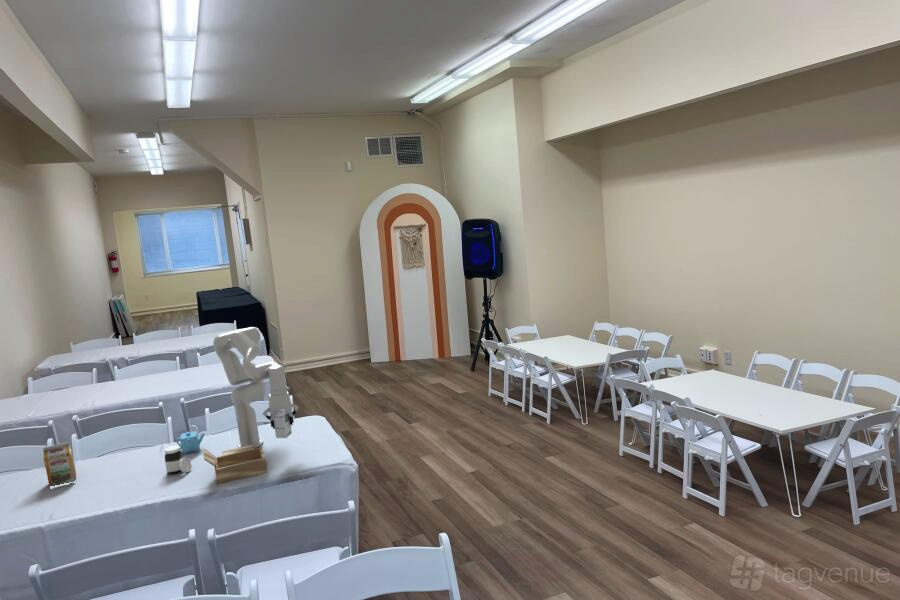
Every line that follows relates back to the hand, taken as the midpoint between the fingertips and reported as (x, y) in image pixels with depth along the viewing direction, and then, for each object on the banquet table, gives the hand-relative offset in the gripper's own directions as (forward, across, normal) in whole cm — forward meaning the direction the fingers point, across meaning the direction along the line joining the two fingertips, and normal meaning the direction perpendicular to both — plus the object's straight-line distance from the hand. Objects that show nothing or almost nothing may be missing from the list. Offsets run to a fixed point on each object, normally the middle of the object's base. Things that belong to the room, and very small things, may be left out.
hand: (282, 425), depth 311 cm
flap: (+7, +34, +3) cm, 35 cm away
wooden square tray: (+17, +21, +1) cm, 27 cm away
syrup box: (+5, 0, 0) cm, 5 cm away
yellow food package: (+21, +100, -34) cm, 108 cm away
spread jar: (+19, +48, -16) cm, 54 cm away
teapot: (+20, +42, -40) cm, 62 cm away
